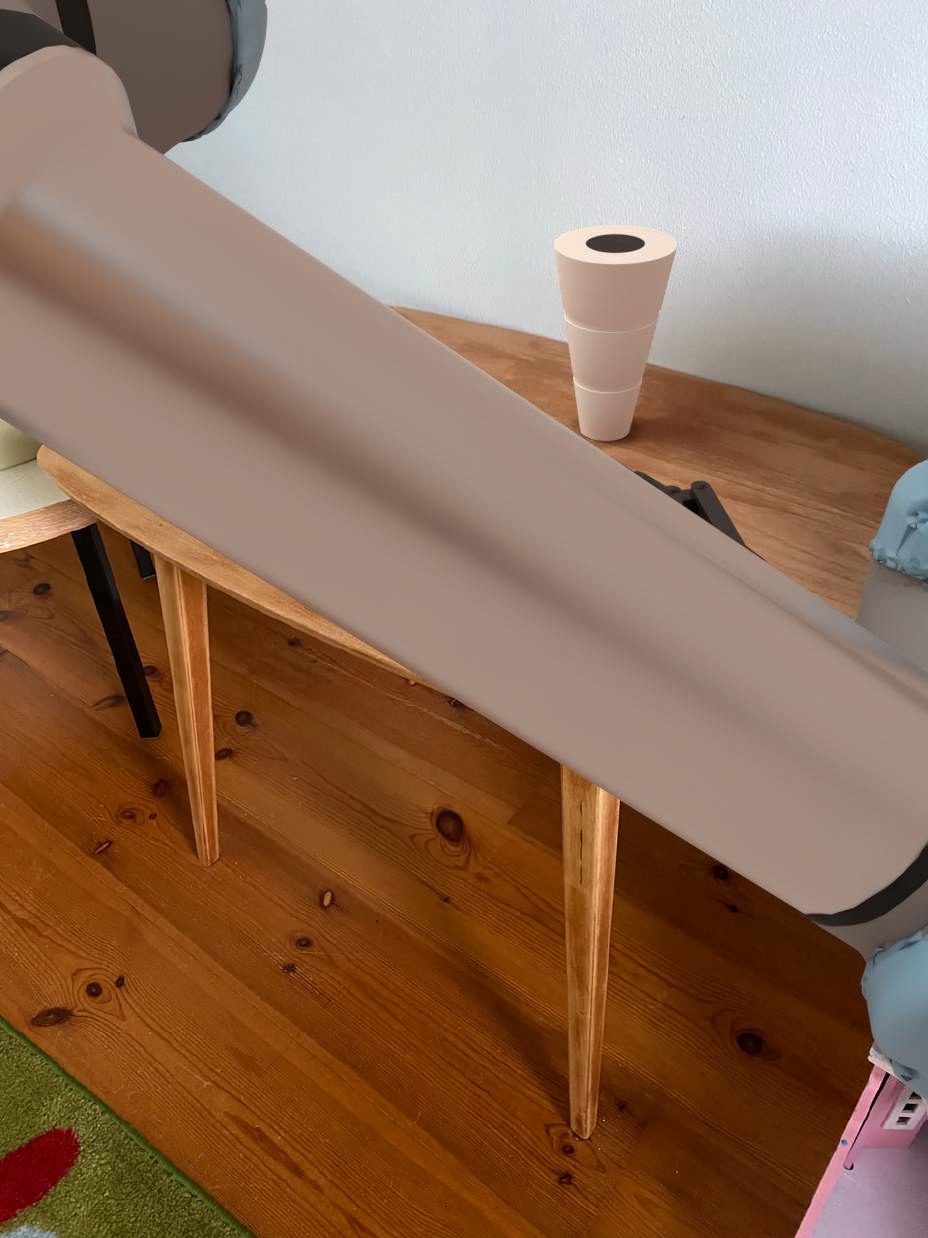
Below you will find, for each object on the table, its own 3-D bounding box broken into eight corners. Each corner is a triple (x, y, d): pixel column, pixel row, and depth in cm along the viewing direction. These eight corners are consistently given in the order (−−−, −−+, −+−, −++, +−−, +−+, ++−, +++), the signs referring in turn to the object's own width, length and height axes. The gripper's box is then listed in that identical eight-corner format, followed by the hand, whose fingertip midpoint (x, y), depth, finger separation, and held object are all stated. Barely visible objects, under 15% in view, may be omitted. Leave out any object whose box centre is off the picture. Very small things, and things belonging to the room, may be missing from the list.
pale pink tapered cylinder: (620, 396, 103) (631, 217, 91) (681, 438, 95) (702, 248, 84) (530, 420, 99) (532, 237, 88) (587, 466, 92) (596, 272, 80)
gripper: (542, 832, 47) (341, 611, 61) (891, 639, 57) (648, 487, 71) (544, 720, 42) (326, 508, 57) (923, 531, 52) (656, 391, 67)
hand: (505, 496), depth 64 cm, fingers open, 13 cm apart
